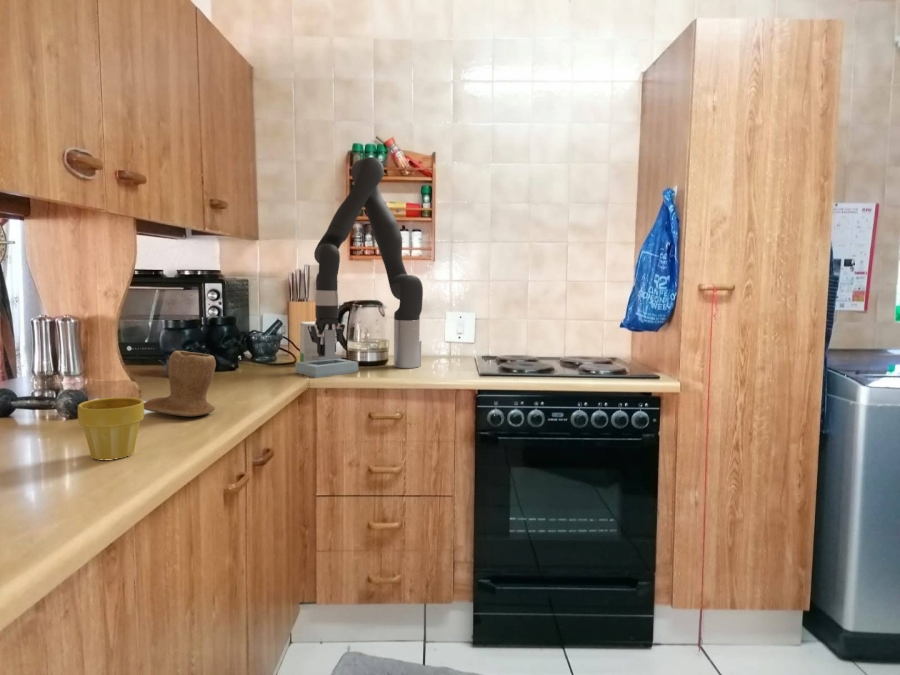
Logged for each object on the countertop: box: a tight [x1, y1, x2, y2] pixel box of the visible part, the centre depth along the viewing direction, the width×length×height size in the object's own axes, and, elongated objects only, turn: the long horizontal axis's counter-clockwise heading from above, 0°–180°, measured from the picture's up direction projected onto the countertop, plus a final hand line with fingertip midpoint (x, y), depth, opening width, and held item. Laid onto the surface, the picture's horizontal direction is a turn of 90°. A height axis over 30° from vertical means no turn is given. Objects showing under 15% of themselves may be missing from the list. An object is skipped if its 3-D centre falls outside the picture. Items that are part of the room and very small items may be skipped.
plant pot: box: [77, 396, 145, 460], centre depth 105 cm, size 10×10×10 cm
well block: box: [294, 358, 359, 379], centre depth 196 cm, size 17×12×4 cm
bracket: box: [312, 329, 342, 361], centre depth 195 cm, size 9×4×10 cm, turn 137°
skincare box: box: [299, 320, 318, 362], centre depth 213 cm, size 8×7×16 cm
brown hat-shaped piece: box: [144, 350, 217, 417], centre depth 136 cm, size 15×12×15 cm
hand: (326, 354), depth 196 cm, fingers closed on bracket, 4 cm apart
